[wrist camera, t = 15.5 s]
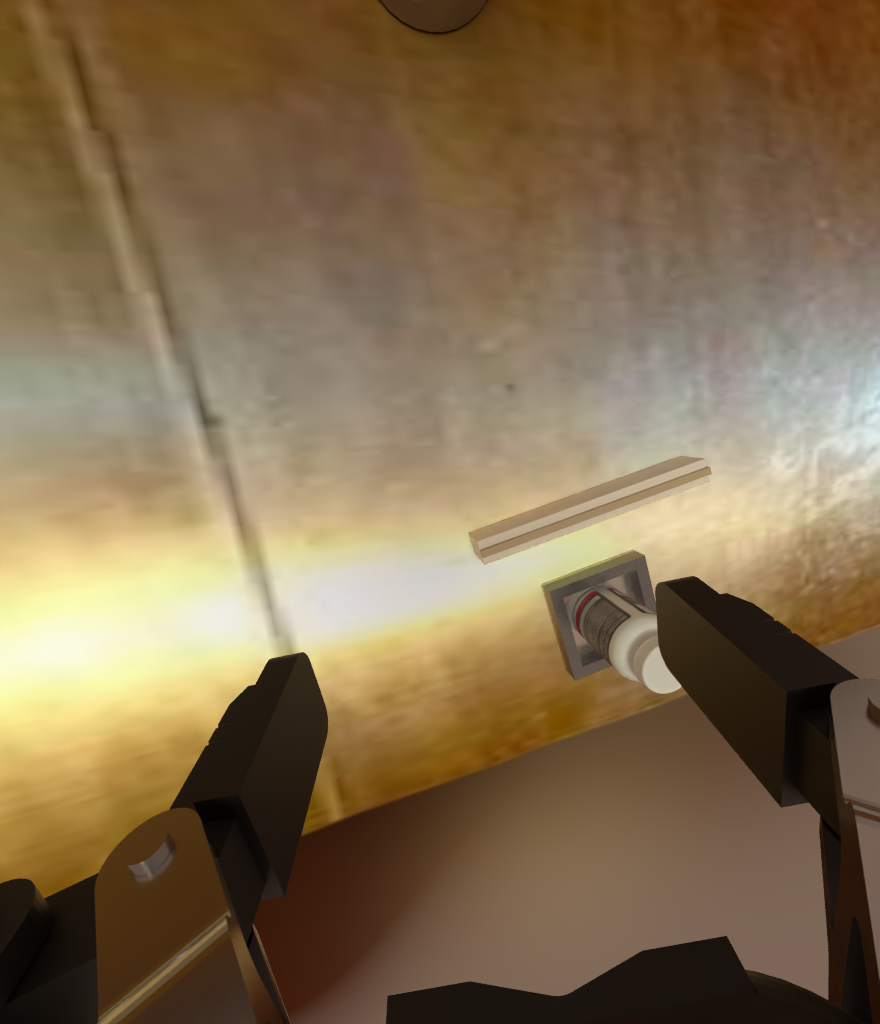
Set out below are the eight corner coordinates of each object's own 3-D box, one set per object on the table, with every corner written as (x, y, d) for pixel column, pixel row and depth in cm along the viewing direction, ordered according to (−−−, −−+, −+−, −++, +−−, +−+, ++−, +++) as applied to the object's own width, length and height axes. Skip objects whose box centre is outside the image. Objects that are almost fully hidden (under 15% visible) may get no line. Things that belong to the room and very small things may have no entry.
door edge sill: (475, 554, 38) (485, 566, 35) (468, 533, 38) (478, 543, 34) (684, 477, 40) (712, 482, 37) (680, 456, 39) (708, 458, 36)
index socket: (566, 669, 42) (575, 680, 40) (541, 584, 40) (549, 591, 38) (653, 635, 42) (665, 644, 41) (632, 549, 40) (644, 555, 39)
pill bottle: (578, 647, 41) (640, 713, 32) (565, 595, 40) (625, 647, 30) (631, 628, 42) (708, 687, 32) (620, 576, 40) (697, 621, 31)
